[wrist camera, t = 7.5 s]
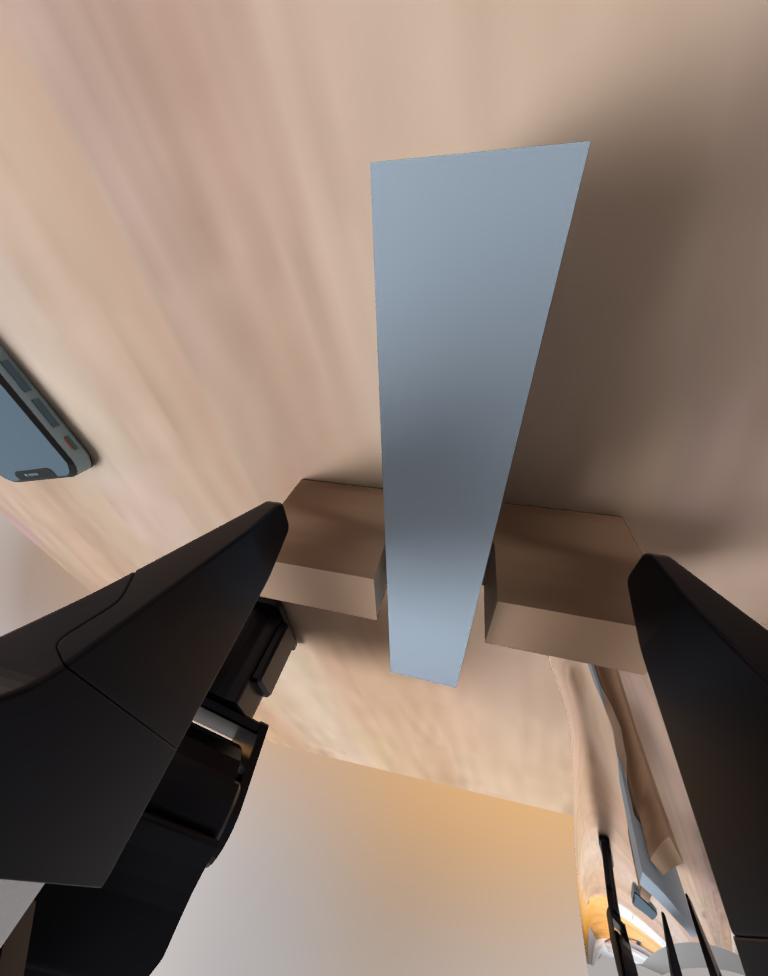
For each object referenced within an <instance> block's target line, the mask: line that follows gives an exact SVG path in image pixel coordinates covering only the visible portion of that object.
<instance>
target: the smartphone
mask: <svg viewBox="0 0 768 976" xmlns="http://www.w3.org/2000/svg"><path fill="white" fill-rule="evenodd" d="M89 468H91V461H90V457H89V455H88V452H87V451H86V450H85V449H84V447H83V446H82V445H81V444H80V443H79V441H78V440H77V439H76V438H75V436H74V435H73V434H72V433H71V432H70V430H69V429H68V428H67V427H66V425H65V424H64V423H63V422H62V420H61V419H60V418H59V417H58V416H57V414H56V413H55V412H54V411H53V409H52V408H51V407H50V406H49V404H48V403H47V402H46V401H45V400H44V398H43V397H42V396H41V395H40V393H39V392H38V391H37V390H36V388H35V387H34V386H33V385H32V384H31V382H30V381H29V380H28V379H27V377H26V376H25V375H24V374H23V372H22V371H21V370H20V369H19V368H18V366H17V365H16V364H15V363H14V362H13V360H12V359H11V358H10V357H9V356H8V354H7V353H6V352H5V351H4V350H3V348H2V347H1V346H0V475H1V476H2V477H4V478H6V479H8V480H10V481H14V482H25V481H34V480H44V479H54V478H64V477H74V476H76V475H77V474H79V473H81V472H83V471H85V470H87V469H89Z"/></svg>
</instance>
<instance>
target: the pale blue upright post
mask: <svg viewBox="0 0 768 976" xmlns="http://www.w3.org/2000/svg"><path fill="white" fill-rule="evenodd" d="M589 145H590V141H585V142H574V143H564V144H554V145H544V146H533V147H523V148H513V149H503V150H493V151H482V152H472V153H462V154H452V155H441V156H431V157H421V158H411V159H400V160H390V161H380V162H370V170H371V195H372V220H373V245H374V270H375V295H376V320H377V345H378V370H379V395H380V420H381V445H382V470H383V495H384V520H385V545H386V570H387V595H388V620H389V645H390V670H391V672H392V673H396V674H400V675H405V676H409V677H413V678H417V679H421V680H426V681H430V682H434V683H438V684H442V685H447V686H451V687H455V688H456V687H457V682H458V678H459V674H460V670H461V666H462V662H463V658H464V654H465V650H466V646H467V642H468V638H469V634H470V630H471V626H472V621H473V617H474V613H475V609H476V605H477V601H478V597H479V593H480V589H481V585H482V581H483V577H484V573H485V569H486V564H487V560H488V556H489V552H490V548H491V544H492V540H493V536H494V532H495V528H496V524H497V520H498V516H499V512H500V508H501V503H502V499H503V495H504V491H505V487H506V483H507V479H508V475H509V471H510V467H511V463H512V459H513V455H514V451H515V446H516V442H517V438H518V434H519V430H520V426H521V422H522V418H523V414H524V410H525V406H526V402H527V398H528V394H529V390H530V385H531V381H532V377H533V373H534V369H535V365H536V361H537V357H538V353H539V349H540V345H541V341H542V337H543V333H544V329H545V324H546V320H547V316H548V312H549V308H550V304H551V300H552V296H553V292H554V288H555V284H556V280H557V276H558V272H559V267H560V263H561V259H562V255H563V251H564V247H565V243H566V239H567V235H568V231H569V227H570V223H571V219H572V215H573V211H574V206H575V202H576V198H577V194H578V190H579V186H580V182H581V178H582V174H583V170H584V166H585V162H586V158H587V154H588V150H589Z"/></svg>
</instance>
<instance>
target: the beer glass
mask: <svg viewBox="0 0 768 976" xmlns="http://www.w3.org/2000/svg"><path fill="white" fill-rule="evenodd" d="M549 662H550V665H551V668H552V671H553V674H554V677H555V680H556V682H557V685H558V688H559V690H560V693H561V696H562V699H563V703H564V706H565V710H566V714H567V719H568V723H569V730H570V738H571V746H572V767H573V803H574V834H575V857H576V872H577V886H578V899H579V908H580V916H581V923H582V931H583V938H584V946H585V953H586V961H587V967H588V973H589V976H745V973H744V970H743V967H742V964H741V961H740V957H739V954H738V951H737V948H736V945H735V942H734V939H733V936H735V935H734V934H733V933H732V931H731V928H730V925H729V922H728V919H727V916H726V913H725V910H724V907H723V904H722V901H721V897H720V894H719V891H718V888H717V885H716V882H715V879H714V876H713V873H712V870H711V867H710V863H709V860H708V857H707V854H706V851H705V848H704V845H703V842H702V839H701V836H700V833H699V829H698V826H697V823H696V820H695V817H694V814H693V811H692V808H691V805H690V802H689V799H688V796H687V792H686V789H685V786H684V783H683V780H682V777H681V774H680V771H679V768H678V765H677V762H676V758H675V755H674V752H673V749H672V746H671V743H670V740H669V737H668V734H667V731H666V728H665V724H664V721H663V718H662V715H661V712H660V709H659V706H658V703H657V700H656V697H655V694H654V690H653V687H652V684H651V681H650V678H649V675H648V672H647V673H646V674H645V675H640V674H636V673H631V672H626V671H621V670H616V669H611V668H606V667H602V666H597V665H592V664H587V663H582V662H577V661H572V660H567V659H563V658H558V657H553V656H549Z"/></svg>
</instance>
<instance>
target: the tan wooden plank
mask: <svg viewBox="0 0 768 976" xmlns="http://www.w3.org/2000/svg"><path fill="white" fill-rule="evenodd" d="M282 505H283V506H284V509H285V513H286V516H287V520H288V523H289V530H288V533H287V536H286V538H285V541H284V543H283V545H282V548H281V550H280V553H279V555H278V558H277V560H276V563H275V565H274V568H273V570H272V572H271V575H270V577H269V579H268V581H267V583H266V585H265V587H264V589H263V590H262V592H261V594H260V596H261V597H266V598H270V599H275V600H280V601H285V602H290V603H295V604H300V605H305V606H309V607H314V608H319V609H324V610H329V611H334V612H339V613H344V614H348V615H353V616H358V617H363V618H368V619H373V620H377V618H378V615H379V611H380V607H381V604H382V600H383V596H384V593H385V589H386V585H387V570H386V545H385V520H384V495H383V489H379V488H371V487H362V486H354V485H345V484H337V483H328V482H320V481H311V480H303V479H301V481H300V482H299V483H298V485H297V486H296V487H295V488H294V490H293V491H292V492H291V494H290V495H289V496H288V498H287V499H286V500H285V501H284V503H283V504H282ZM642 556H643V555H642V553H641V551H640V549H639V547H638V546H637V544H636V542H635V540H634V538H633V536H632V534H631V532H630V531H629V529H628V527H627V525H626V523H625V521H624V519H623V517H617V516H609V515H600V514H592V513H583V512H575V511H566V510H558V509H549V508H541V507H532V506H524V505H515V504H507V503H501V508H500V512H499V516H498V520H497V524H496V528H495V532H494V536H493V540H492V544H491V548H490V552H489V556H488V560H487V564H486V569H485V573H484V577H483V581H482V585H484V608H485V643H490V644H494V645H499V646H504V647H509V648H514V649H519V650H524V651H528V652H533V653H538V654H543V655H548V656H553V657H558V658H563V659H567V660H572V661H577V662H582V663H587V664H592V665H597V666H602V667H606V668H611V669H616V670H621V671H626V672H631V673H636V674H640V675H645V674H646V673H647V669H646V666H645V663H644V659H643V656H642V653H641V649H640V645H639V641H638V636H637V631H636V626H635V621H634V616H633V611H632V606H631V601H630V596H629V591H628V585H627V581H628V577H629V575H630V573H631V572H632V570H633V569H634V567H635V566H636V564H637V563H638V561H639V560H640V558H641V557H642Z"/></svg>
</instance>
